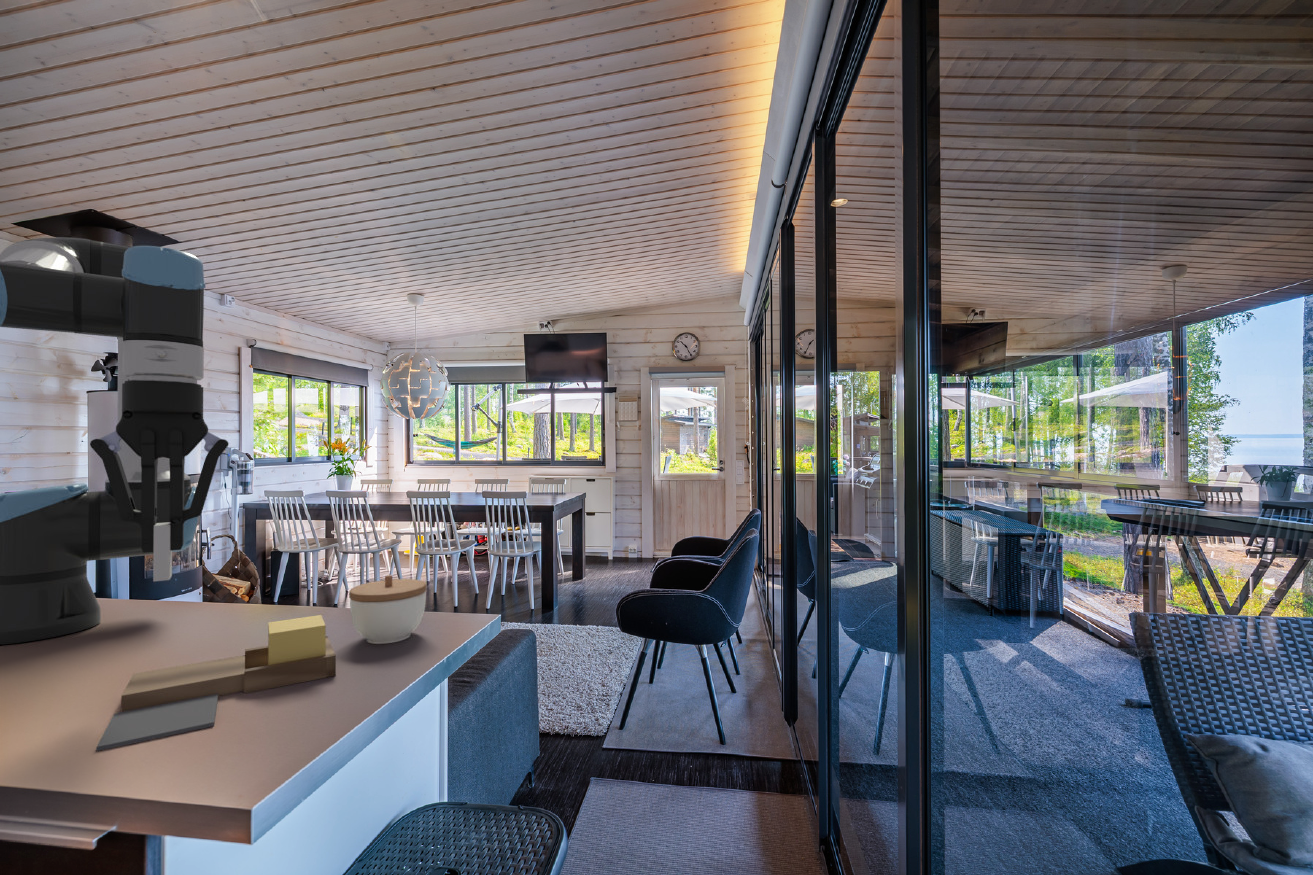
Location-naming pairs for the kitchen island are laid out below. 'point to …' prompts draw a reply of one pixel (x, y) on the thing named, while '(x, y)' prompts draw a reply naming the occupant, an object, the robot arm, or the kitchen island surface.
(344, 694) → the kitchen island surface
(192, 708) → the mat
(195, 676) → the brown tray
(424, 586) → the lidded jar
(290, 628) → the block
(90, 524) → the robot arm
